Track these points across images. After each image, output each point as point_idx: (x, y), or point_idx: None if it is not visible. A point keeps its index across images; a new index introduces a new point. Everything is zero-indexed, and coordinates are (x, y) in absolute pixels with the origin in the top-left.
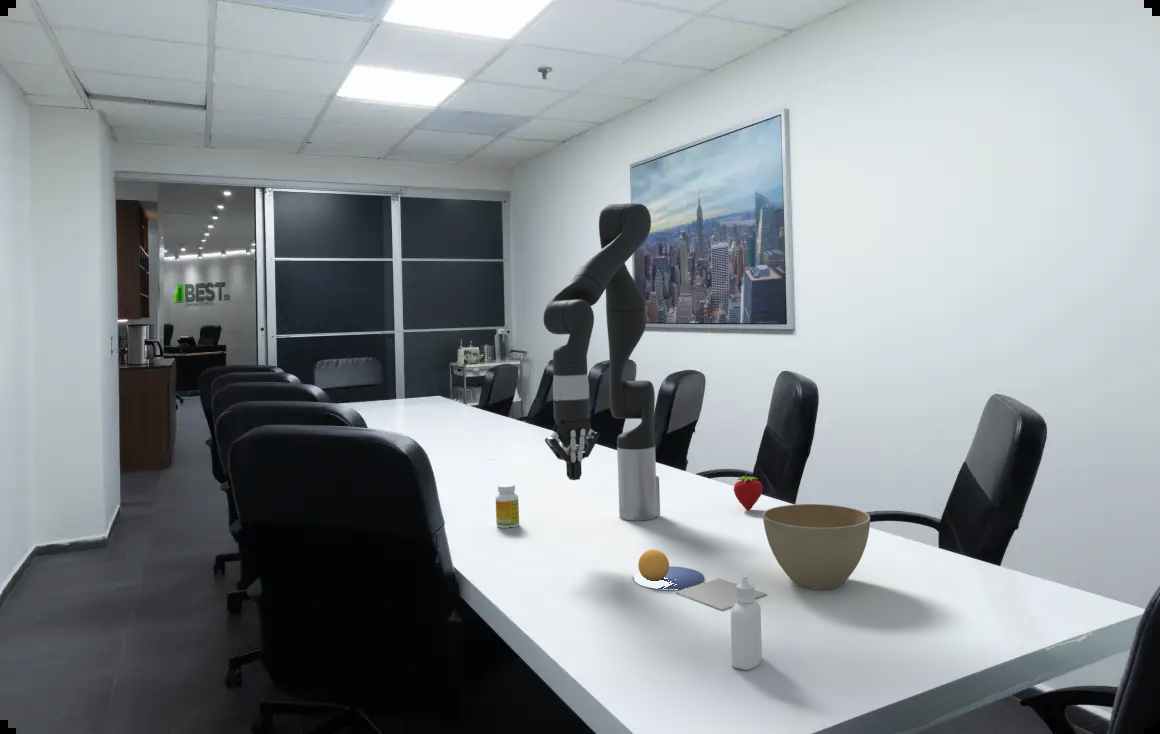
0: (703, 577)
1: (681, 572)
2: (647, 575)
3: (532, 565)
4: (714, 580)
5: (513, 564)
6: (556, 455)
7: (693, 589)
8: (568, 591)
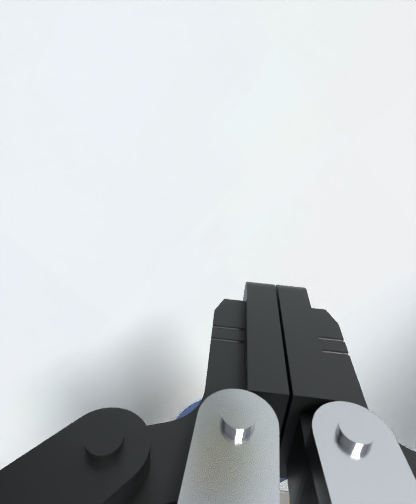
0: (283, 479)
1: None
2: None
3: (61, 183)
4: (281, 495)
5: (17, 131)
6: (15, 481)
7: None
8: (46, 368)
